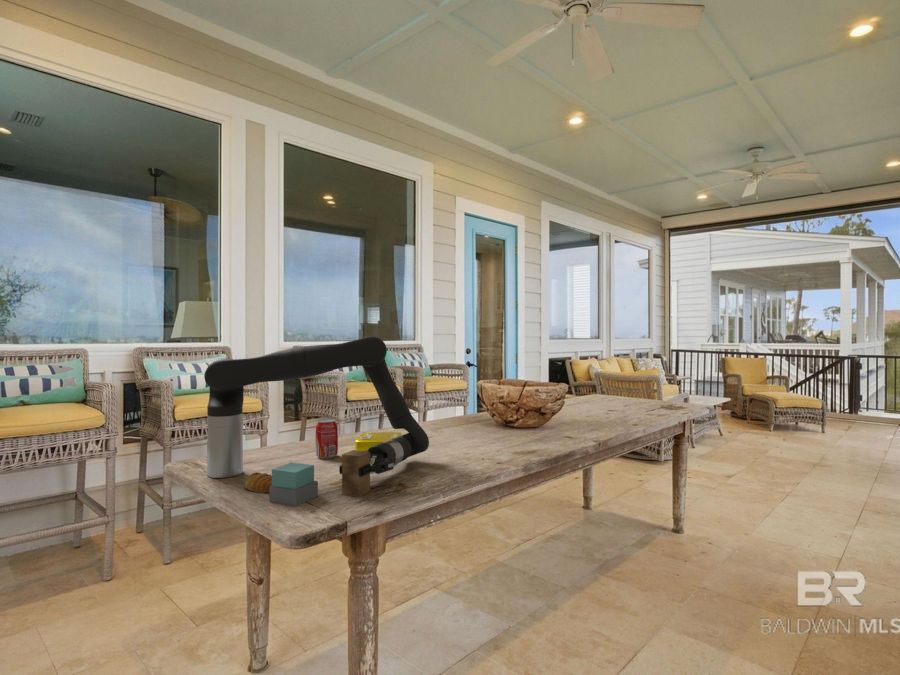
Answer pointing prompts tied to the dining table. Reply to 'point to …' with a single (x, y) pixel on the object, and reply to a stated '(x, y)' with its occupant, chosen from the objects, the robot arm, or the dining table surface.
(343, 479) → the walnut pillar
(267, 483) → the pastry
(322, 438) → the soda can
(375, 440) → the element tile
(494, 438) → the dining table surface
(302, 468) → the tower top slab
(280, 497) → the tower base slab
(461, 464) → the dining table surface
